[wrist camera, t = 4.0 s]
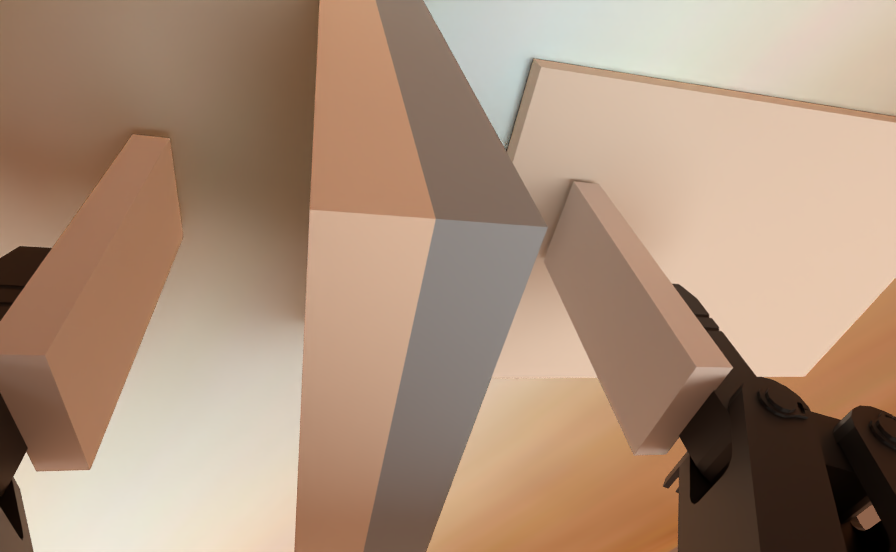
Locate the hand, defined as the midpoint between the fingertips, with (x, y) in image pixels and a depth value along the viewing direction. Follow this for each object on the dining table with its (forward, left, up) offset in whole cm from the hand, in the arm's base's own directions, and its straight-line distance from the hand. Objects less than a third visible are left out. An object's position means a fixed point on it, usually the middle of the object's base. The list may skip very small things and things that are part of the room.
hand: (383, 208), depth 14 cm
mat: (+1, +11, -1) cm, 11 cm away
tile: (0, -1, -1) cm, 1 cm away
